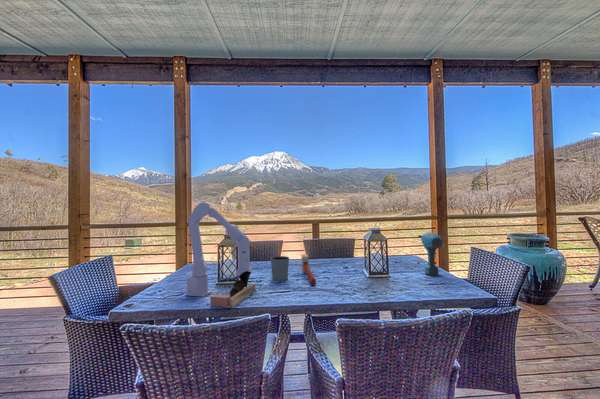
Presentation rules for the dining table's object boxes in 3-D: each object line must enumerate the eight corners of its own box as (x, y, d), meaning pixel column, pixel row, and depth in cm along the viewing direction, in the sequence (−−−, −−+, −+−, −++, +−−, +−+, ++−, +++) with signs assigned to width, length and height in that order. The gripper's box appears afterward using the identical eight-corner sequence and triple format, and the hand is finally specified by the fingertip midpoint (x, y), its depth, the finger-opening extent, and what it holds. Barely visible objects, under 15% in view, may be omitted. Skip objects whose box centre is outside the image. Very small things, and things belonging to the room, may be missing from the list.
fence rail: (228, 307, 128) (228, 299, 128) (251, 290, 150) (251, 283, 150) (232, 307, 127) (232, 299, 127) (255, 290, 149) (255, 283, 149)
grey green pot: (267, 279, 169) (267, 257, 169) (281, 275, 176) (281, 255, 176) (278, 283, 161) (278, 260, 161) (293, 279, 168) (292, 257, 168)
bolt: (231, 304, 136) (238, 292, 151) (241, 298, 136) (247, 287, 151) (224, 293, 136) (232, 282, 151) (234, 287, 136) (240, 277, 151)
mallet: (316, 273, 155) (307, 253, 184) (310, 274, 154) (301, 254, 184) (316, 293, 157) (307, 270, 186) (309, 293, 156) (301, 270, 185)
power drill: (412, 266, 190) (411, 229, 189) (426, 266, 189) (425, 229, 189) (430, 279, 162) (429, 235, 161) (447, 278, 161) (446, 235, 161)
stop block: (210, 306, 130) (210, 296, 130) (214, 303, 133) (214, 294, 133) (227, 307, 128) (227, 298, 128) (231, 304, 131) (230, 295, 131)
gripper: (244, 263, 144) (245, 291, 145) (257, 256, 158) (257, 282, 159) (231, 262, 146) (232, 290, 146) (244, 256, 160) (245, 282, 160)
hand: (244, 286), depth 153 cm, fingers closed
